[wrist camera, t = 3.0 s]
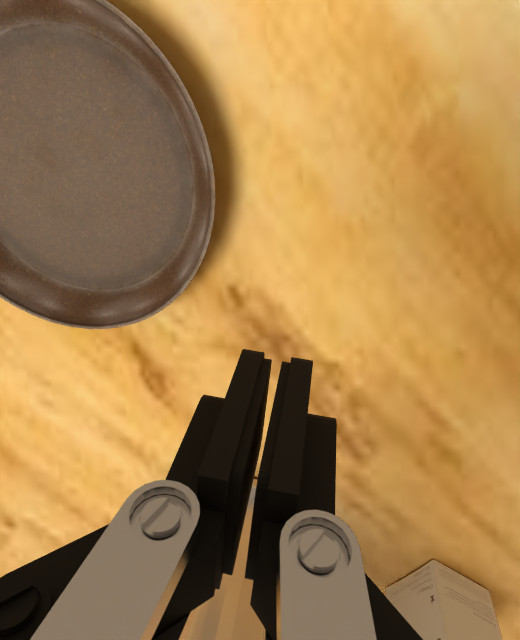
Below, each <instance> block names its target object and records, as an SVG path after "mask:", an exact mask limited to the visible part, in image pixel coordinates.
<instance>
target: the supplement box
mask: <svg viewBox="0 0 520 640" xmlns="http://www.w3.org/2000/svg"><path fill="white" fill-rule="evenodd" d="M385 591H386V598H387V599H388V600H389V601H390V602H391V603H392V605H393V606H394V607H395V608H396V609H397V610H398V611H399V613H400V614H401V615H402V616H403V617H404V618H405V619H406V621H407V622H408V623H409V624H410V625H411V626H412V627H413V629H414V630H415V631H416V632H417V633H418V634H419V635H420V637H421V638H422V639H423V640H502V636H501V632H500V629H499V625H498V621H497V618H496V614H495V610H494V607H493V603H492V599H491V596H490V592H489V591H488V590H487V589H485V588H484V587H482V586H480V585H478V584H477V583H475V582H473V581H471V580H470V579H468V578H466V577H464V576H463V575H461V574H459V573H457V572H456V571H454V570H452V569H450V568H449V567H447V566H445V565H443V564H442V563H440V562H438V561H436V560H431V561H430V562H429V563H427V564H426V565H424V566H423V567H421V568H420V569H418V570H416V571H415V572H413V573H412V574H410V575H408V576H406V577H405V578H403V579H401V580H400V581H398V582H396V583H394V584H392V585H390V586H388V587H387V588H386V589H385Z"/></svg>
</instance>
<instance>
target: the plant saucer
mask: <svg viewBox="0 0 520 640" xmlns="http://www.w3.org/2000/svg"><path fill="white" fill-rule="evenodd" d="M214 213H215V179H214V170H213V164H212V158H211V153H210V149H209V145H208V141H207V138H206V134H205V132H204V129H203V126H202V123H201V120H200V118H199V115H198V113H197V110H196V108H195V106H194V104H193V101H192V99H191V97H190V95H189V93H188V92H187V90H186V88H185V86H184V84H183V82H182V81H181V79H180V77H179V76H178V74H177V73H176V71H175V69H174V68H173V67H172V65H171V64H170V62H169V61H168V59H167V58H166V57H165V55H164V54H163V53H162V51H161V50H160V49H159V48H158V47H157V45H156V44H155V43H154V42H153V41H152V40H151V39H150V37H149V36H148V35H147V34H146V33H145V32H144V31H143V30H142V29H141V28H140V27H139V26H138V25H137V24H136V23H134V22H133V21H132V20H131V19H130V18H129V17H128V16H126V15H125V14H124V13H123V12H122V11H120V10H119V9H118V8H116V7H115V6H114V5H112V4H111V3H109V2H108V1H107V0H0V297H1V298H2V299H4V300H5V301H7V302H9V303H10V304H12V305H14V306H16V307H17V308H19V309H22V310H24V311H26V312H28V313H30V314H31V315H34V316H37V317H39V318H42V319H44V320H47V321H50V322H53V323H57V324H61V325H65V326H70V327H77V328H85V329H108V328H116V327H122V326H126V325H130V324H134V323H137V322H139V321H142V320H145V319H147V318H149V317H151V316H153V315H155V314H156V313H158V312H159V311H161V310H163V309H164V308H165V307H167V306H168V305H169V304H171V303H172V302H173V301H174V300H175V299H176V298H177V297H178V296H179V295H180V294H181V293H182V292H183V291H184V290H185V288H186V287H187V286H188V284H189V283H190V282H191V280H192V279H193V277H194V276H195V274H196V272H197V270H198V268H199V267H200V265H201V262H202V260H203V258H204V256H205V253H206V250H207V247H208V244H209V240H210V237H211V233H212V228H213V222H214Z"/></svg>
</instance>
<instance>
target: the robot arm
mask: <svg viewBox="0 0 520 640" xmlns="http://www.w3.org/2000/svg"><path fill="white" fill-rule="evenodd" d="M271 363H272V360H271V359H265V358H264V352H258V351H252V350H246V349H243V350H242V352H241V355H240V358H239V361H238V364H237V366H236V369H235V372H234V375H233V378H232V380H231V383H230V386H229V389H228V391H227V394H226V397H225V398H219V397H214V396H208V395H203V396H202V397H201V399H200V401H199V404H198V406H197V408H196V411H195V413H194V415H193V417H192V420H191V422H190V424H189V427H188V429H187V431H186V434H185V436H184V438H183V441H182V443H181V445H180V447H179V450H178V452H177V454H176V457H175V459H174V461H173V464H172V466H171V468H170V471H169V473H168V475H167V477H166V480H159V481H154V482H151V483H148V484H145V485H143V486H141V487H140V488H138V489H137V490H135V491H134V492H133V493H132V494H131V495H130V496H129V497H128V498H127V499H126V501H125V502H124V504H123V505H122V507H121V508H120V510H119V511H118V512H117V514H116V515H115V517H114V518H113V520H112V521H111V523H110V524H108V525H106V526H104V527H102V528H100V529H98V530H96V531H94V532H92V533H90V534H88V535H86V536H84V537H82V538H80V539H78V540H75V541H73V542H71V543H69V544H67V545H65V546H63V547H61V548H59V549H57V550H55V551H53V552H51V553H49V554H47V555H45V556H43V557H41V558H39V559H36V560H34V561H32V562H30V563H28V564H26V565H24V566H22V567H20V568H18V569H16V570H14V571H12V572H10V573H8V574H6V575H4V576H3V577H1V578H0V640H423V639H422V638H421V637H420V635H419V634H418V633H417V632H416V631H415V630H414V629H413V627H412V626H411V625H410V624H409V623H408V622H407V621H406V619H405V618H404V617H403V616H402V615H401V614H400V613H399V611H398V610H397V609H396V608H395V607H394V606H393V605H392V603H391V602H390V601H389V600H388V599H387V598H386V596H385V595H384V594H383V593H382V592H381V591H380V590H379V588H378V587H377V586H376V585H375V584H374V583H373V582H372V580H371V579H370V578H369V577H368V576H367V575H366V574H365V572H364V567H363V562H362V556H361V551H360V547H359V544H358V541H357V538H356V536H355V534H354V533H353V531H352V530H351V529H350V527H349V526H348V525H347V524H346V523H345V522H344V521H342V520H341V519H340V518H339V517H337V516H335V479H336V428H337V424H336V419H335V418H330V417H324V416H319V415H313V414H308V404H309V395H310V385H311V375H312V366H313V361H311V360H305V359H299V358H293V357H292V358H291V363H288V362H283V361H282V365H281V369H280V374H279V379H278V384H277V389H276V393H275V398H274V403H273V408H272V412H271V417H270V422H269V427H268V431H267V436H266V441H265V446H264V451H263V455H262V460H261V465H260V470H259V475H258V480H257V479H254V475H255V470H256V465H257V461H258V456H259V452H260V447H261V441H262V434H263V426H264V418H265V410H266V402H267V395H268V387H269V379H270V371H271Z"/></svg>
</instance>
